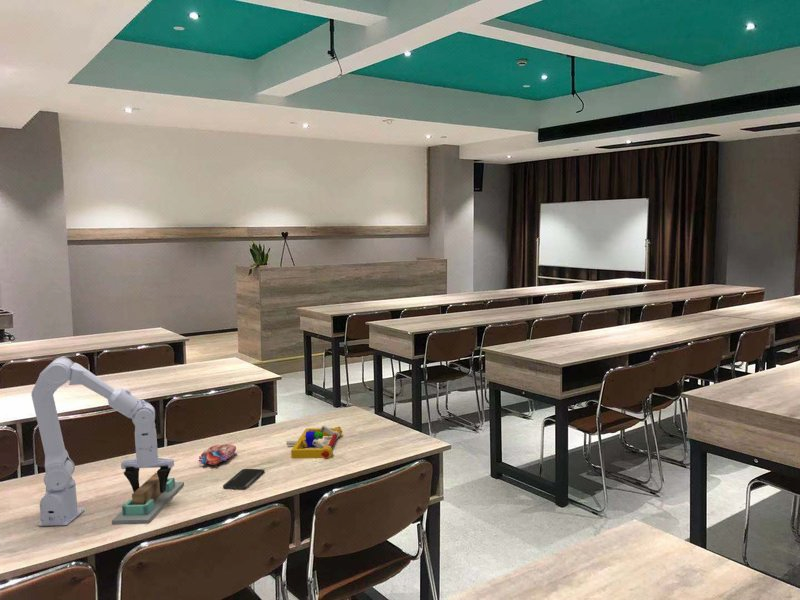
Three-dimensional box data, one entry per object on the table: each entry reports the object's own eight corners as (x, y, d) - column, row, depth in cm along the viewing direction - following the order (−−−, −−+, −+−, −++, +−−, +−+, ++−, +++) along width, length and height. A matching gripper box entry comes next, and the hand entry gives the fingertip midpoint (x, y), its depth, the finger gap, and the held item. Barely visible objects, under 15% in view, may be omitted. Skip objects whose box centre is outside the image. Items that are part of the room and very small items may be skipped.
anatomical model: (205, 458, 221) (192, 464, 206) (208, 441, 221) (194, 446, 206) (236, 460, 221) (224, 467, 206) (238, 444, 221) (226, 449, 206)
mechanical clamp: (343, 417, 241) (330, 442, 211) (343, 433, 242) (330, 460, 212) (296, 418, 242) (276, 443, 212) (297, 433, 243) (277, 461, 213)
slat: (143, 511, 172) (142, 494, 172) (133, 511, 172) (131, 494, 172) (166, 488, 188) (165, 472, 188) (156, 488, 188) (155, 472, 188)
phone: (265, 469, 202) (245, 487, 187) (265, 472, 202) (245, 491, 187) (243, 468, 204) (221, 486, 189) (243, 471, 204) (221, 490, 189)
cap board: (148, 523, 167) (147, 510, 167) (112, 524, 167) (111, 511, 167) (184, 485, 193) (183, 474, 193) (152, 485, 193) (151, 474, 193)
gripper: (176, 440, 182) (179, 485, 184) (127, 442, 183) (131, 486, 184) (167, 449, 175) (170, 495, 177) (116, 450, 175) (120, 496, 177)
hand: (149, 491), depth 180 cm, fingers open, 7 cm apart
